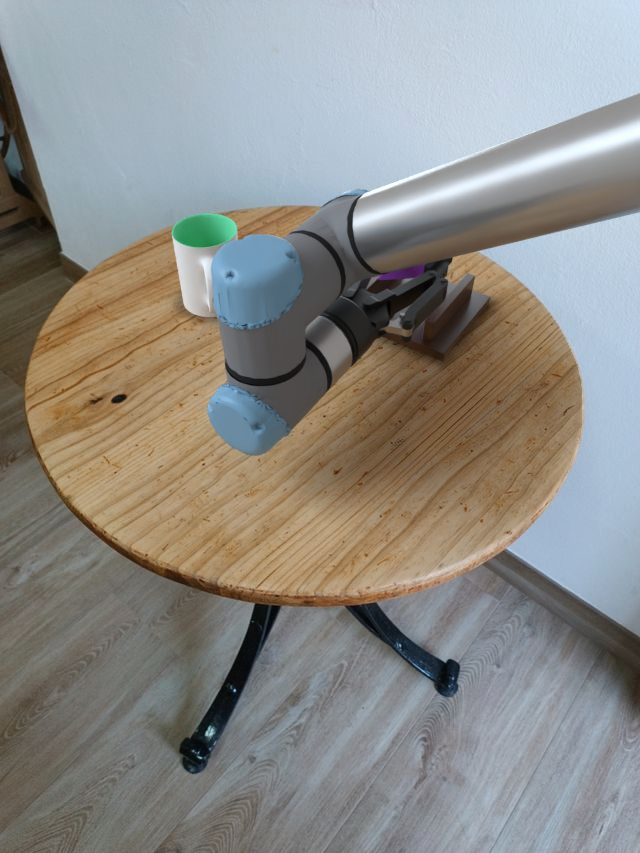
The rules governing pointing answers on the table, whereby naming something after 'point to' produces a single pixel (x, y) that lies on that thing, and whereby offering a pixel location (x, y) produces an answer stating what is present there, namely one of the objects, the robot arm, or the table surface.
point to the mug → (200, 257)
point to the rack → (440, 316)
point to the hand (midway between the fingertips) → (428, 243)
